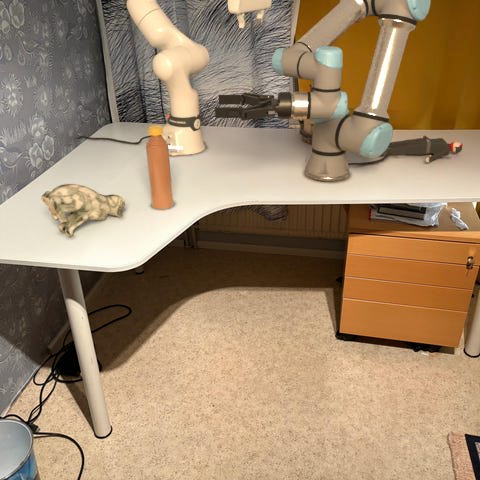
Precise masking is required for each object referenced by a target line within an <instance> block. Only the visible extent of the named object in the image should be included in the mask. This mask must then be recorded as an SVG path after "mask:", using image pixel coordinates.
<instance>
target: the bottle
mask: <svg viewBox="0 0 480 480" xmlns="http://www.w3.org/2000/svg"><path fill="white" fill-rule="evenodd" d="M145 150H146V161H147V169H148V170H147V171H148V178H149V180H148V181H149V189H150V197H151V198H150V199H151V206H152V208H154V209H156V210H166V209H170V208H171V207H173V206H174V197H173V186H172V174H171V163H170V162H171V161H170V155H169V148H168V143H167V141H166V140H165V139H164V138H163V137H162V135H158V136H152V135H151V137H150V138H148V140H147V141H146V145H145Z"/></svg>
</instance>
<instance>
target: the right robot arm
mask: <svg viewBox="0 0 480 480" xmlns="http://www.w3.org/2000/svg"><path fill="white" fill-rule="evenodd" d="M431 1H432V0H339V3H338V4H337V5H335V7H333V8H332V9H331V10H330V11H329V12H328V13H327V14H326V15H324V17H322V18H321V19H320V20H318V22H317V23H315V24H314V25H313V26H312V27H311V28H310V29H309V30H308V31H306V33H305V34H303V36H301V37H300V38H298V40H297V41H295V43H294V44H292V45H291V46H290V47H289V48H288V47H280V48H277V49H276V50H275V51H274V52H273V54H272V57H271V68H272V70H273V72H274V73H275V74H277V75H281V76H282V77H283V76H284V77H286V78H287V77H288V78H293V79H301V80H305V81H310V82H312V84H313V83H314V86H313V89H314V91H313V92H310V91H293V92H292V93H291V91H278V93H277V98H275V95H273V94H260V93H254V92H253V93H251V92H246V91H245V92H243V93H241V94H218V105H225V106H226V107H224V106H223V107H222V106H221V107H220V106H218V107H216V106H215V107H214V116H215V119H240V120H241V121H242V122H243V121H251V120H258V119H263V118H274V117H276V113H277V119H278V120H290V119H291V118H292V119H293V120H299V121H301V122H303V121H304V119H313V135H312V143H311V153H310V155H309V158H308V160H307V157H306V158H305V160H307V161H305V164H306V166H305V169H304V170H305V171H304V173H305V175H306V176H307V178H309V179H311V180H313V181H314V180H315V181H316V182H317V181H318V182H324V183H325V182H326V183H335V182H341V181H343V180H346V179H348V177H350V166H362V165H371V164H375V163H376V164H377V163H379V162H382V161H384V160H386V159H387V158H388V157H389V156H391V155H392V154H386V155H384V156H383V157H382V158H380V159H376V160H373V161H365V162H348V159H347V154H346V152H347V153H351V154H355V155H357V156H360V157H363V158H371V159H375V158H379V157H381V156H380V155H382V153H383V152H385V150H386V149H388V148H387V147H388V146H389V144H390V142H392V139H393V135H394V132H393V130H394V128H393V126H392V125H391V124H390V123H389V122H390V119H391V117H390V116H389V114H388V108H389V105H390V101H391V98H392V94H393V91H394V87H395V83H396V81H397V76H398V72H399V69H400V66H401V63H402V59H403V55H404V52H405V48H406V44H407V41H408V37H409V34H410V33H411V32H412V31H414V30H415V29H416V28H417V24H418V22H422V21H424V20H425V19H426V17H427V15H428V14H429V11H430V7H431ZM370 17H378V19H377V23H378V25H379V26H380V29H379V34H378V37H377V41H376V45H375V48H374V52H373V56H372V60H371V63H370V67H369V70H368V74H367V78H366V82H365V85H364V88H363V93H362V97H361V100H360V104H359V105H358V106H357V107H356V108H354V109H353V112H352V114H350V109H349V108H348V94H347V92H346V91H342V88H341V86H342V85H341V84H342V73H343V72H342V71H343V66H344V64H343V63H344V62H343V57H344V56H343V55H344V54H343V50H342V49H341V47H339V46H334V45H333V44H334V43H335V42H336V41H337V40H338V39H339V38H340V37H341V36H342V35H344V34H345V33H346V32H347V31H348V30H349V29H350V28H351V27H352V26H354V24H357V23H360V22H363V20H364V19H366V18H370ZM227 105H238V107H237V106H235V107H234V106H231V107H230V106H229V107H227ZM245 105H247V106H246V107H243V106H245ZM450 144H451V143H448V145H450Z"/></svg>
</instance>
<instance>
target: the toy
mask: <svg viewBox="0 0 480 480" xmlns="http://www.w3.org/2000/svg"><path fill="white" fill-rule="evenodd" d="M448 144H450V145H448ZM463 147H464V146H463V143H462V142H460V141H452V142H450V143H448V142H447V141H446V140H445V139H444V138H443V137H438V138H429V137H428V136H427V135H420V136H419V138H412V139H404V140H399V141H391V142H390V144H389V146H388V147H387V149H386V150H385V152H383V153H382V155H380V156H379V157H384V156H386V155H387V154H391V155H395V156H396V155H417V156H423V155H426V154H430V155H429V156H428V157H425V162H426V163H431V162H434V161H435V160H436V159H439V158H446V157H448V156H449V154H450V152H451V153H455V154H459V153H461V152H462V150H463ZM432 154H433V155H432Z"/></svg>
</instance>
